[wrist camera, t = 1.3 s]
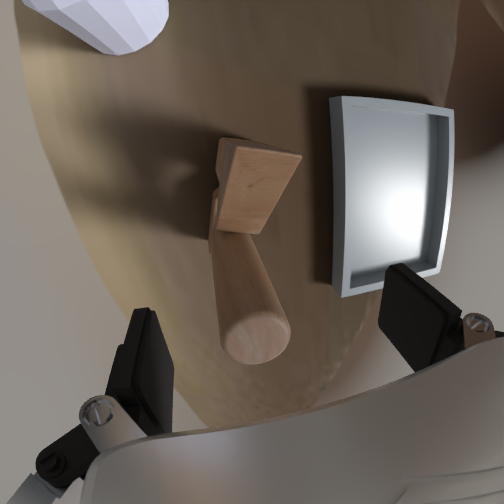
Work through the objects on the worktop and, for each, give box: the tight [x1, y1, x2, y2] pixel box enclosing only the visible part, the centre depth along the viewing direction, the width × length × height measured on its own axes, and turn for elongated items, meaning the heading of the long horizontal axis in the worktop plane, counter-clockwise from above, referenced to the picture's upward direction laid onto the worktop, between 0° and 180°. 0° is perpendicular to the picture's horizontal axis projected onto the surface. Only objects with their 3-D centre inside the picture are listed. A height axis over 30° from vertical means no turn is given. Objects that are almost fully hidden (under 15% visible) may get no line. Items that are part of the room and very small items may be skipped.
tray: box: [329, 96, 454, 298], centre depth 30 cm, size 22×16×3 cm
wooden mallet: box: [208, 137, 302, 365], centre depth 21 cm, size 4×11×18 cm, turn 172°
